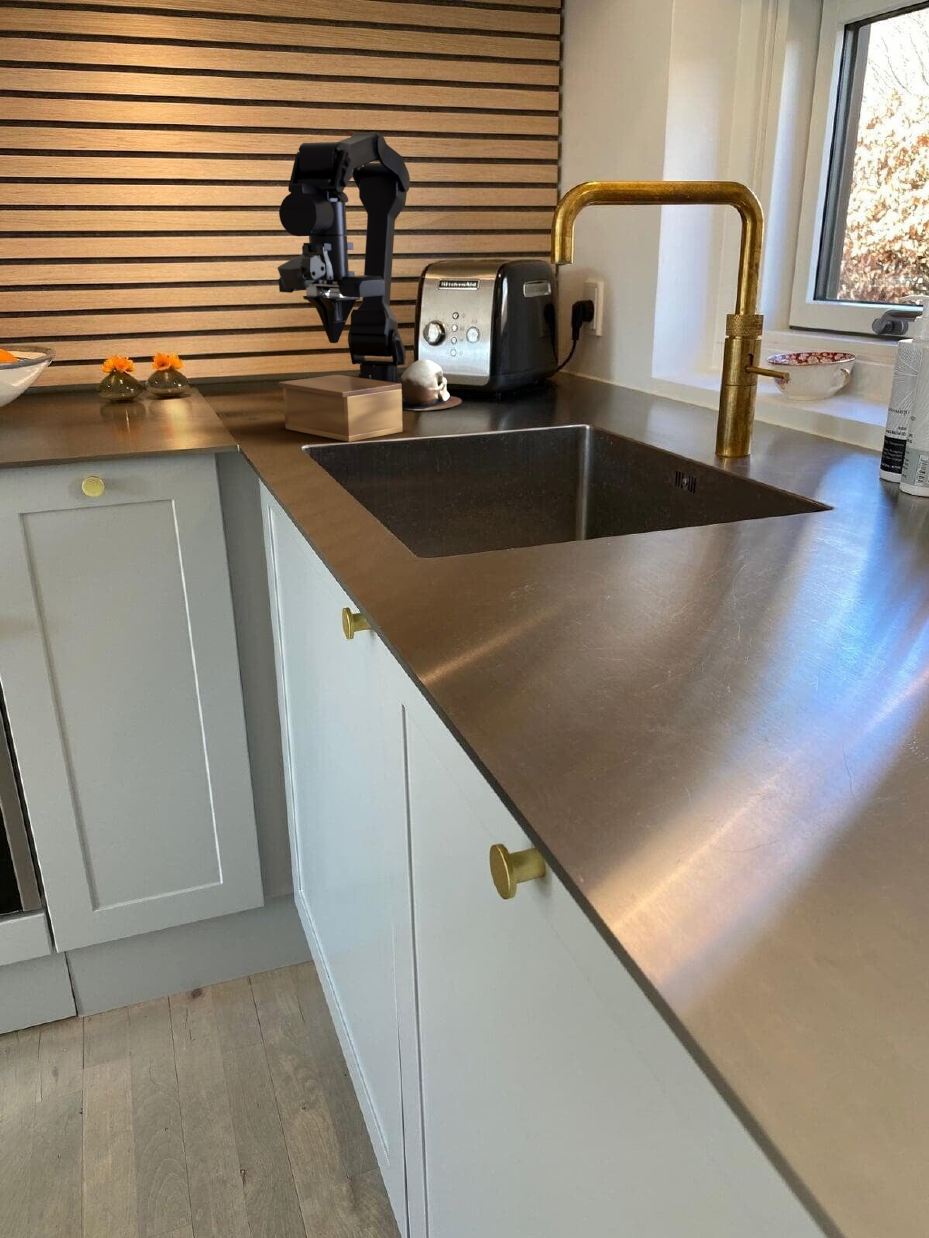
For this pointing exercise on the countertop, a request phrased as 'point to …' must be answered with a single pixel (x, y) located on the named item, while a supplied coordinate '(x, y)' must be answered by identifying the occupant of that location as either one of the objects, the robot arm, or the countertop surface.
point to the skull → (425, 387)
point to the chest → (344, 414)
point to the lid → (340, 385)
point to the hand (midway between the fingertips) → (333, 342)
